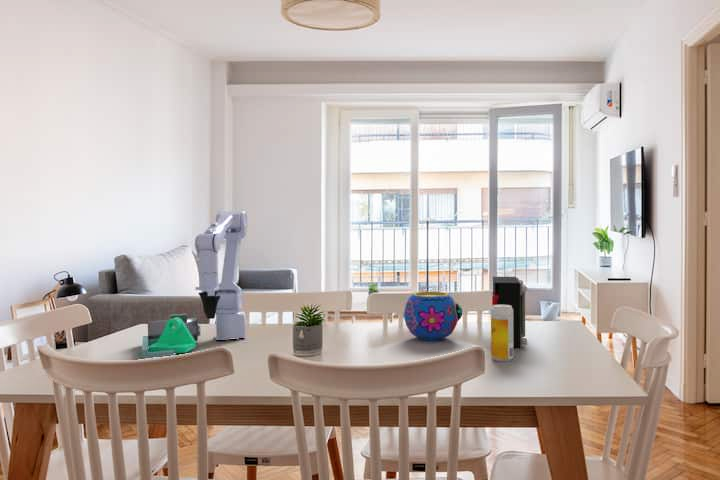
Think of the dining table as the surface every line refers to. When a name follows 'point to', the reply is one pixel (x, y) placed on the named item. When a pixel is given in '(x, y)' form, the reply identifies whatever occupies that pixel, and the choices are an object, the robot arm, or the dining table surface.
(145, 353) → the pump bracket
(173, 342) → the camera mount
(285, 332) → the dining table surface
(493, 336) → the beer can
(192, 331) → the motor housing
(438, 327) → the ceramic pot
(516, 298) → the electrical component
